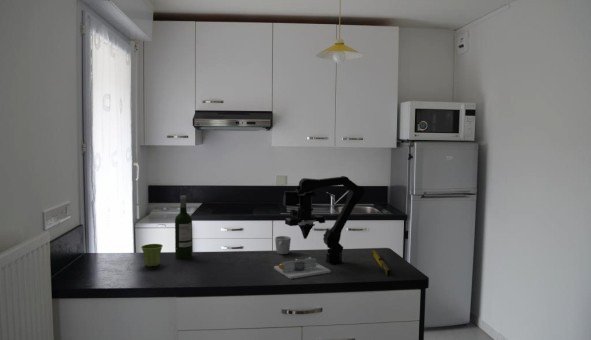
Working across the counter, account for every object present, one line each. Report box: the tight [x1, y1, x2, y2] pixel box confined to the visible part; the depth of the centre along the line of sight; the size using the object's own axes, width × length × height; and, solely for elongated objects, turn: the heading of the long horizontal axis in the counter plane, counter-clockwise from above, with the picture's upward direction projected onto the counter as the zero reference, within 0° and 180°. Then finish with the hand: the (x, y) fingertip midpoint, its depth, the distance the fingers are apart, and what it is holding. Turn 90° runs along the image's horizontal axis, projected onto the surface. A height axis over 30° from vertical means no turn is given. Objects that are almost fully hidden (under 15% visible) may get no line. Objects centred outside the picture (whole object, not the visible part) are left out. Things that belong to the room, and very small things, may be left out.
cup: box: [274, 235, 292, 255], centre depth 215 cm, size 11×8×8 cm
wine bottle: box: [174, 195, 193, 260], centre depth 207 cm, size 8×8×30 cm
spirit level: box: [371, 249, 391, 277], centre depth 199 cm, size 33×1×3 cm, turn 0°
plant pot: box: [140, 243, 163, 267], centre depth 194 cm, size 9×9×9 cm
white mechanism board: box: [273, 256, 331, 280], centre depth 189 cm, size 20×16×4 cm
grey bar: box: [278, 257, 317, 271], centre depth 186 cm, size 5×18×4 cm, turn 113°
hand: (305, 238), depth 198 cm, fingers closed
